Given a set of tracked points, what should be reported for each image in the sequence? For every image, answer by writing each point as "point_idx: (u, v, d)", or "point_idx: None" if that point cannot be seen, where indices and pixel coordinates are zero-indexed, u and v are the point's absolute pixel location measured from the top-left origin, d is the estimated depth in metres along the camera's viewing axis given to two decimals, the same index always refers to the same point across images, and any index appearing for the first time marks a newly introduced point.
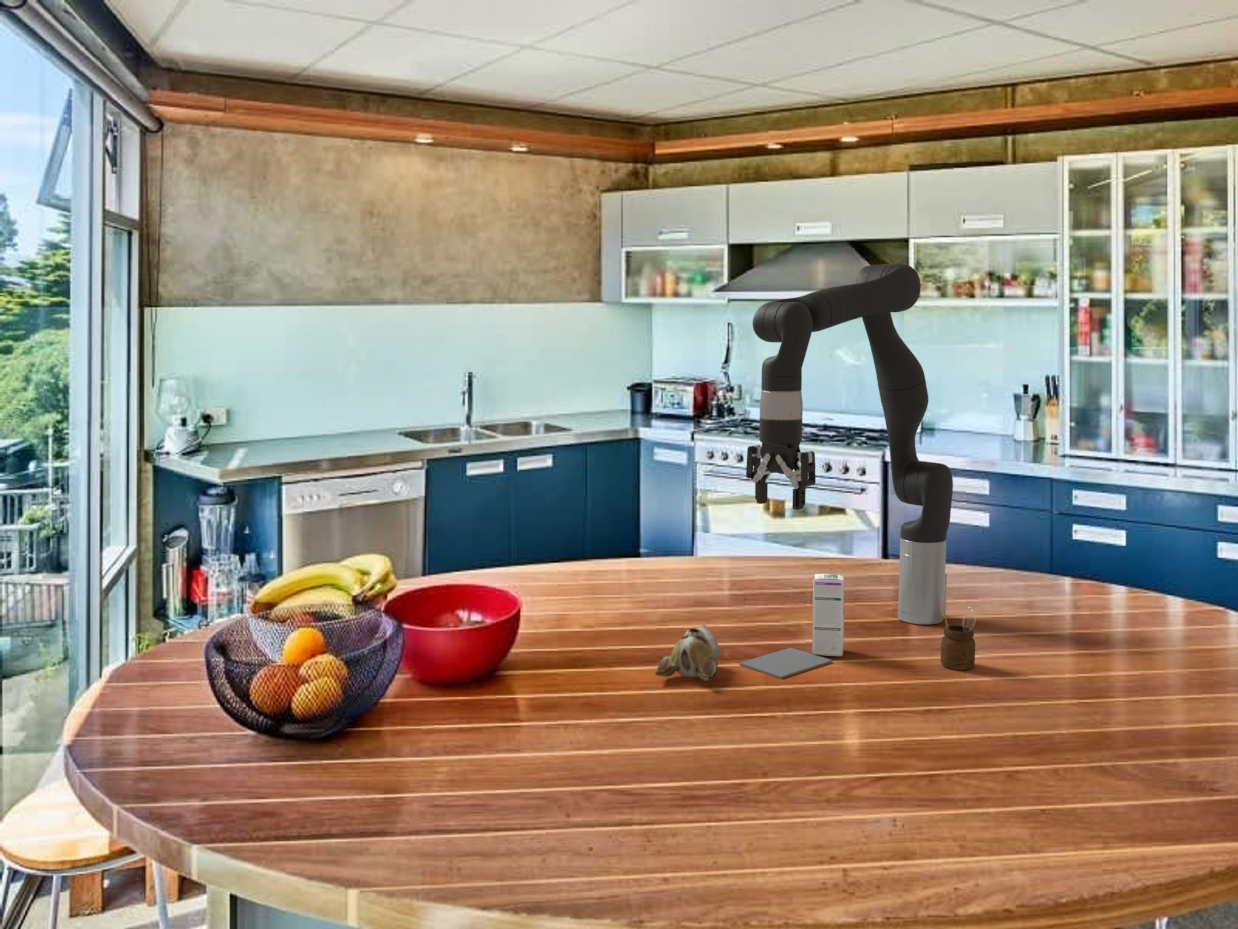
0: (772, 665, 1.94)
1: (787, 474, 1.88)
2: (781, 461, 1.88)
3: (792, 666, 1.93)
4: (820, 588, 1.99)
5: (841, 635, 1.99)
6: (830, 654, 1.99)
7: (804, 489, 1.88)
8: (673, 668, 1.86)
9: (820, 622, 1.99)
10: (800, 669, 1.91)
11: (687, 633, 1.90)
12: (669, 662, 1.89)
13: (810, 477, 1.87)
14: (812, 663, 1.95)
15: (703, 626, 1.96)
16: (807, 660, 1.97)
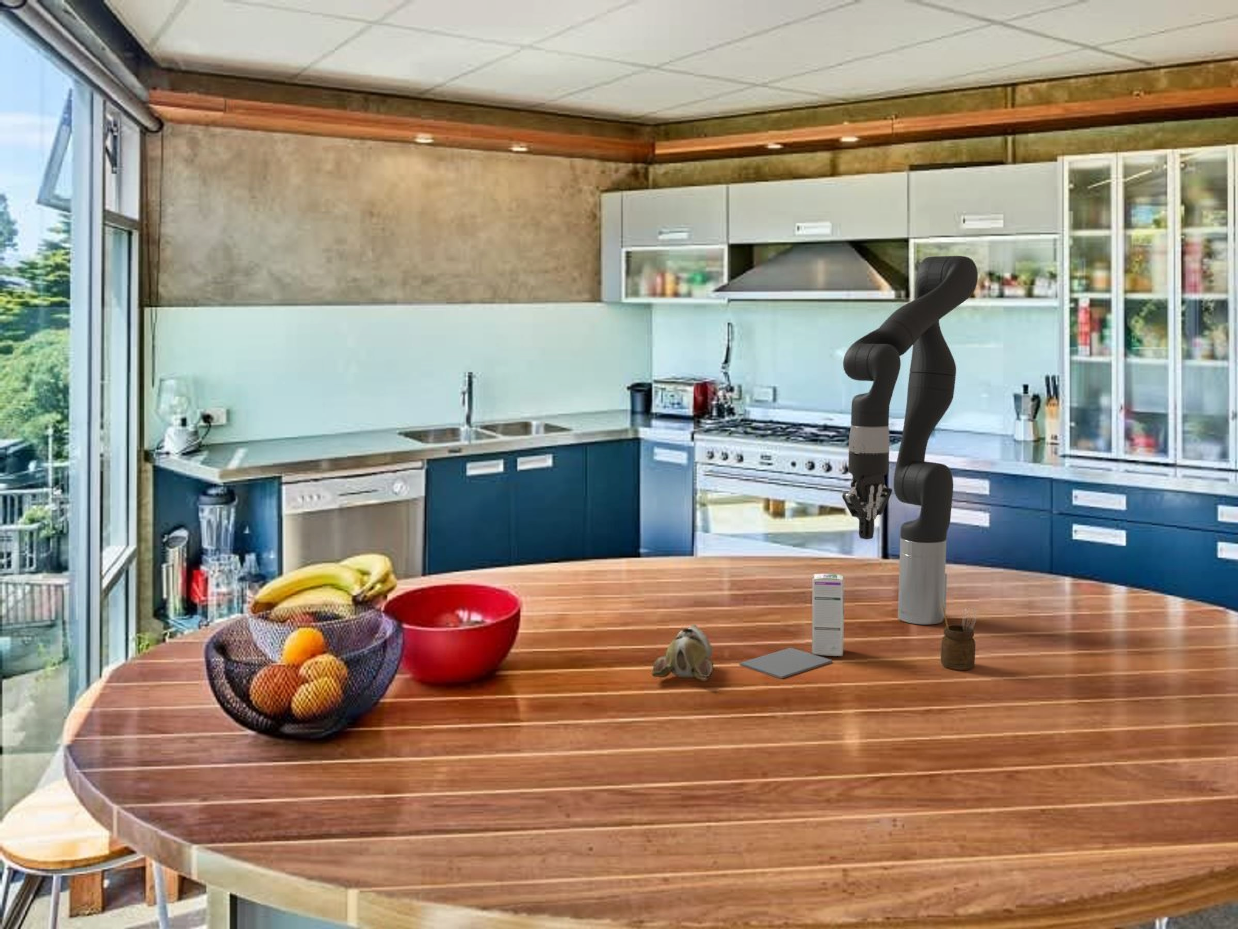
0: (772, 665, 1.94)
1: (877, 504, 2.05)
2: (880, 491, 2.05)
3: (792, 666, 1.93)
4: (819, 588, 1.99)
5: (841, 635, 1.99)
6: (830, 654, 1.99)
7: None
8: (669, 668, 1.86)
9: (820, 622, 1.99)
10: (800, 669, 1.91)
11: (681, 633, 1.90)
12: (664, 663, 1.88)
13: None
14: (812, 663, 1.95)
15: (694, 626, 1.96)
16: (807, 660, 1.97)
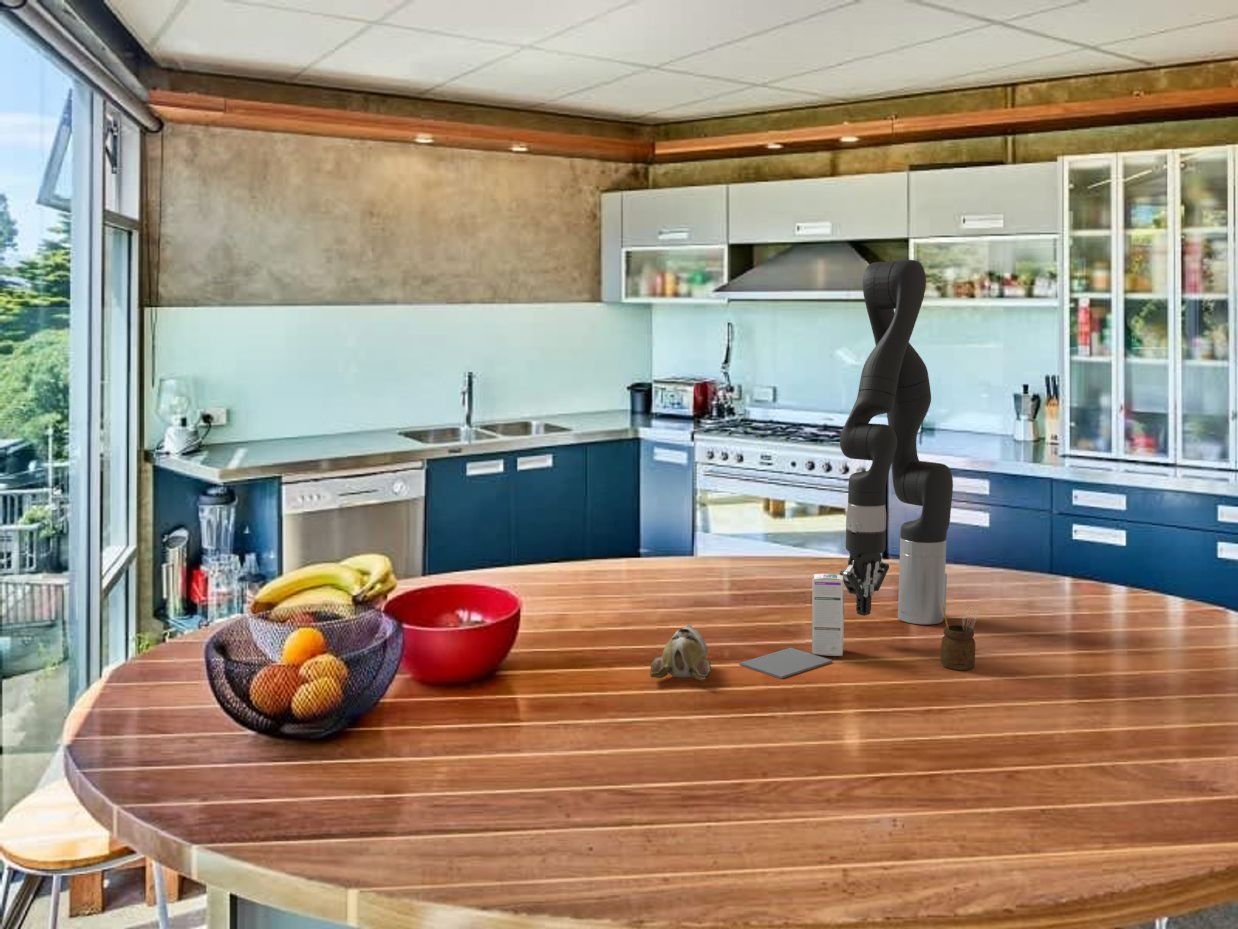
0: (772, 665, 1.94)
1: (874, 581, 2.07)
2: (877, 568, 2.07)
3: (792, 666, 1.93)
4: (819, 588, 1.99)
5: (841, 635, 1.99)
6: (830, 654, 1.99)
7: None
8: (667, 669, 1.86)
9: (820, 622, 1.99)
10: (800, 669, 1.91)
11: (677, 633, 1.90)
12: (661, 663, 1.88)
13: None
14: (812, 663, 1.95)
15: (689, 626, 1.96)
16: (807, 660, 1.97)
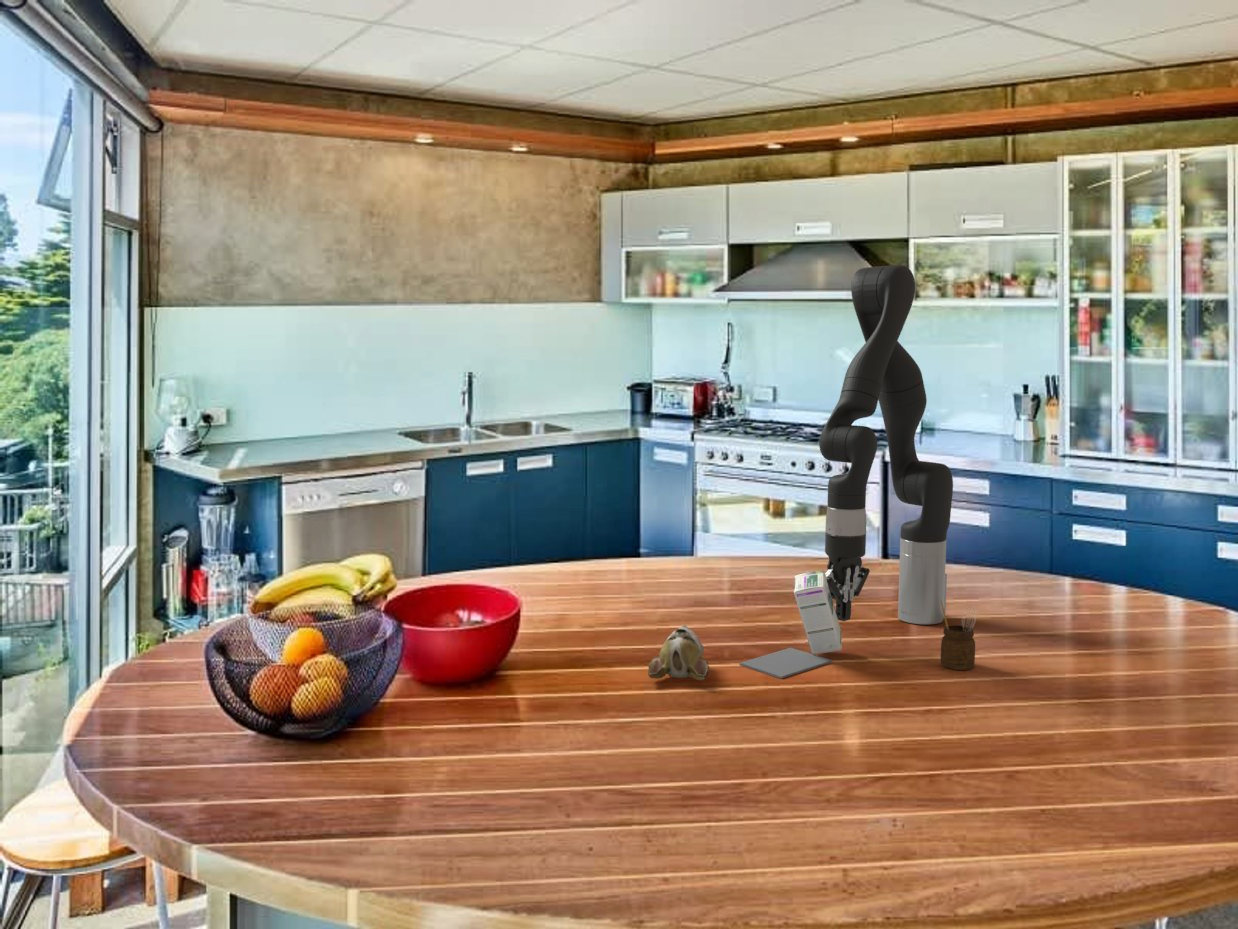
0: (772, 665, 1.94)
1: (854, 586, 2.03)
2: (857, 573, 2.03)
3: (792, 666, 1.93)
4: (803, 598, 1.95)
5: (835, 633, 1.97)
6: (829, 651, 1.99)
7: None
8: (665, 669, 1.86)
9: (811, 627, 1.97)
10: (800, 669, 1.91)
11: (674, 634, 1.90)
12: (659, 664, 1.88)
13: None
14: (812, 663, 1.95)
15: (684, 626, 1.96)
16: (807, 660, 1.97)
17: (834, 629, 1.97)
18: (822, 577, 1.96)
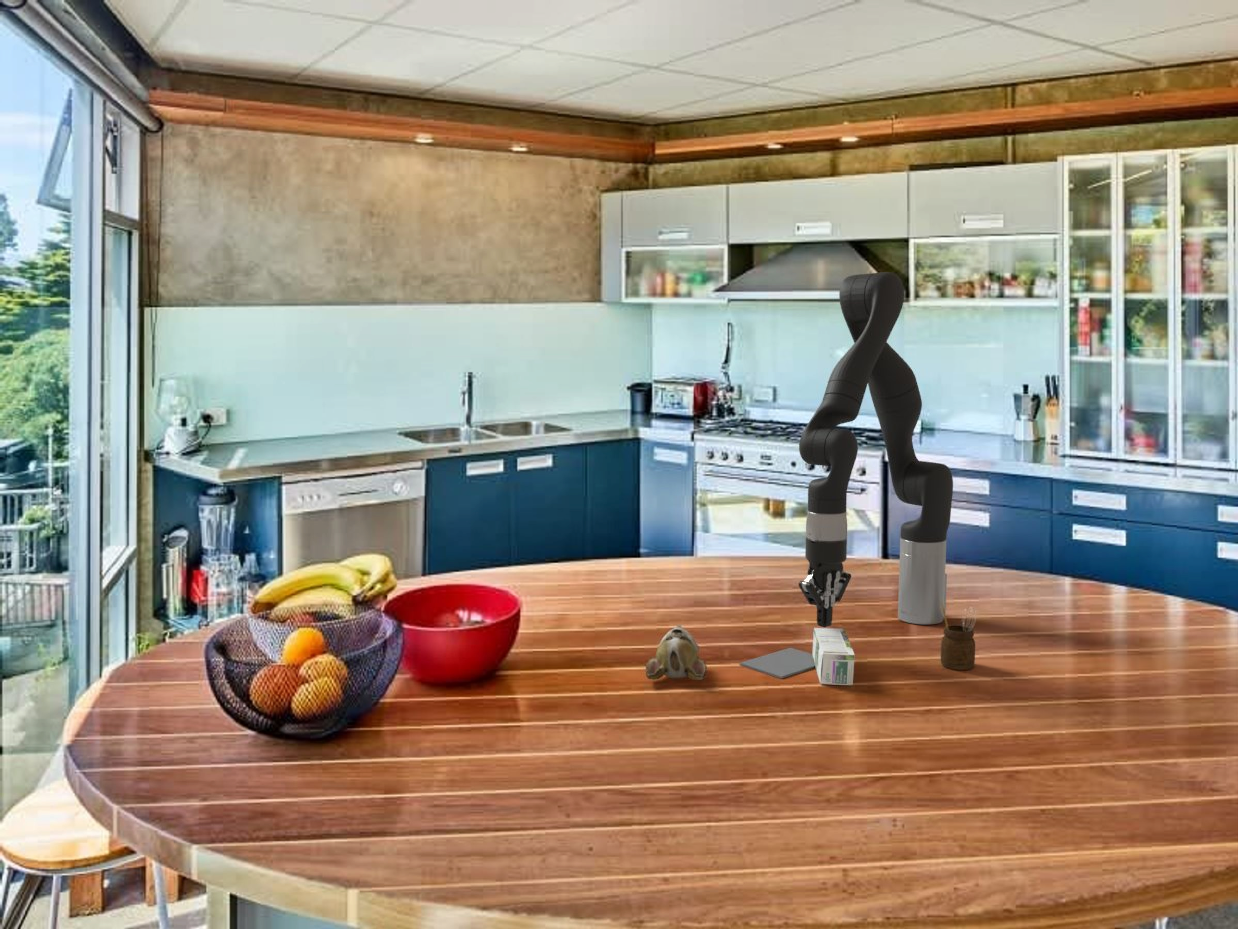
0: (772, 665, 1.94)
1: (835, 591, 1.99)
2: (838, 578, 1.99)
3: (792, 666, 1.93)
4: None
5: None
6: None
7: None
8: (662, 670, 1.85)
9: None
10: (800, 669, 1.91)
11: (670, 634, 1.90)
12: (656, 664, 1.87)
13: None
14: (812, 663, 1.95)
15: (679, 626, 1.96)
16: (807, 660, 1.97)
17: None
18: (852, 668, 1.84)
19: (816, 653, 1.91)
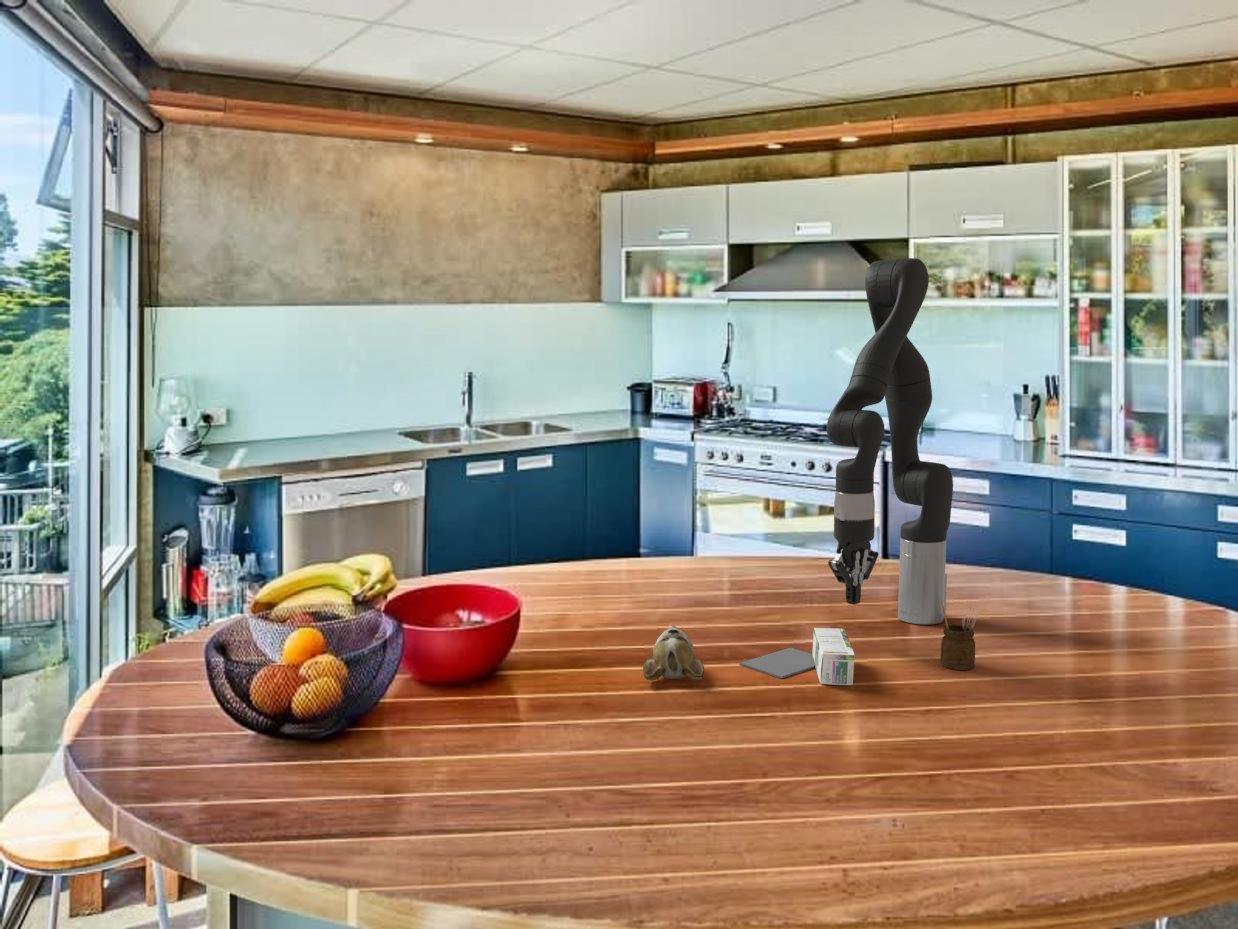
0: (772, 665, 1.94)
1: (863, 569, 2.04)
2: (867, 556, 2.04)
3: (792, 666, 1.93)
4: None
5: None
6: None
7: None
8: (660, 671, 1.85)
9: None
10: (800, 669, 1.91)
11: (667, 634, 1.89)
12: (653, 665, 1.87)
13: None
14: (812, 663, 1.95)
15: (673, 626, 1.96)
16: (807, 660, 1.97)
17: None
18: (852, 668, 1.84)
19: (816, 653, 1.91)
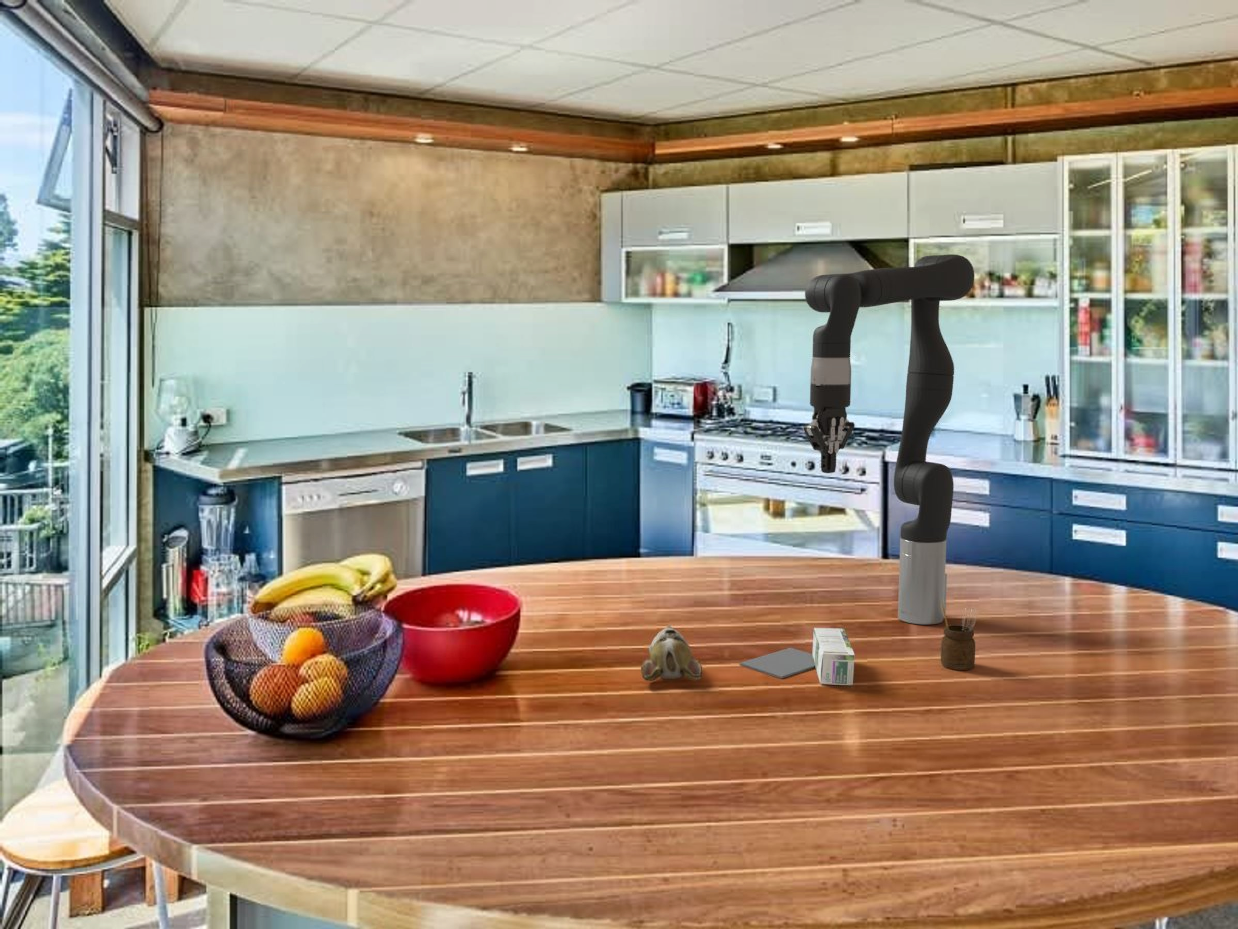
0: (772, 665, 1.94)
1: (839, 437, 2.03)
2: (842, 424, 2.03)
3: (792, 666, 1.93)
4: None
5: None
6: None
7: None
8: (659, 671, 1.85)
9: None
10: (800, 669, 1.91)
11: (664, 635, 1.89)
12: (651, 666, 1.87)
13: None
14: (812, 663, 1.95)
15: (669, 626, 1.95)
16: (807, 660, 1.97)
17: None
18: (852, 668, 1.84)
19: (816, 653, 1.91)
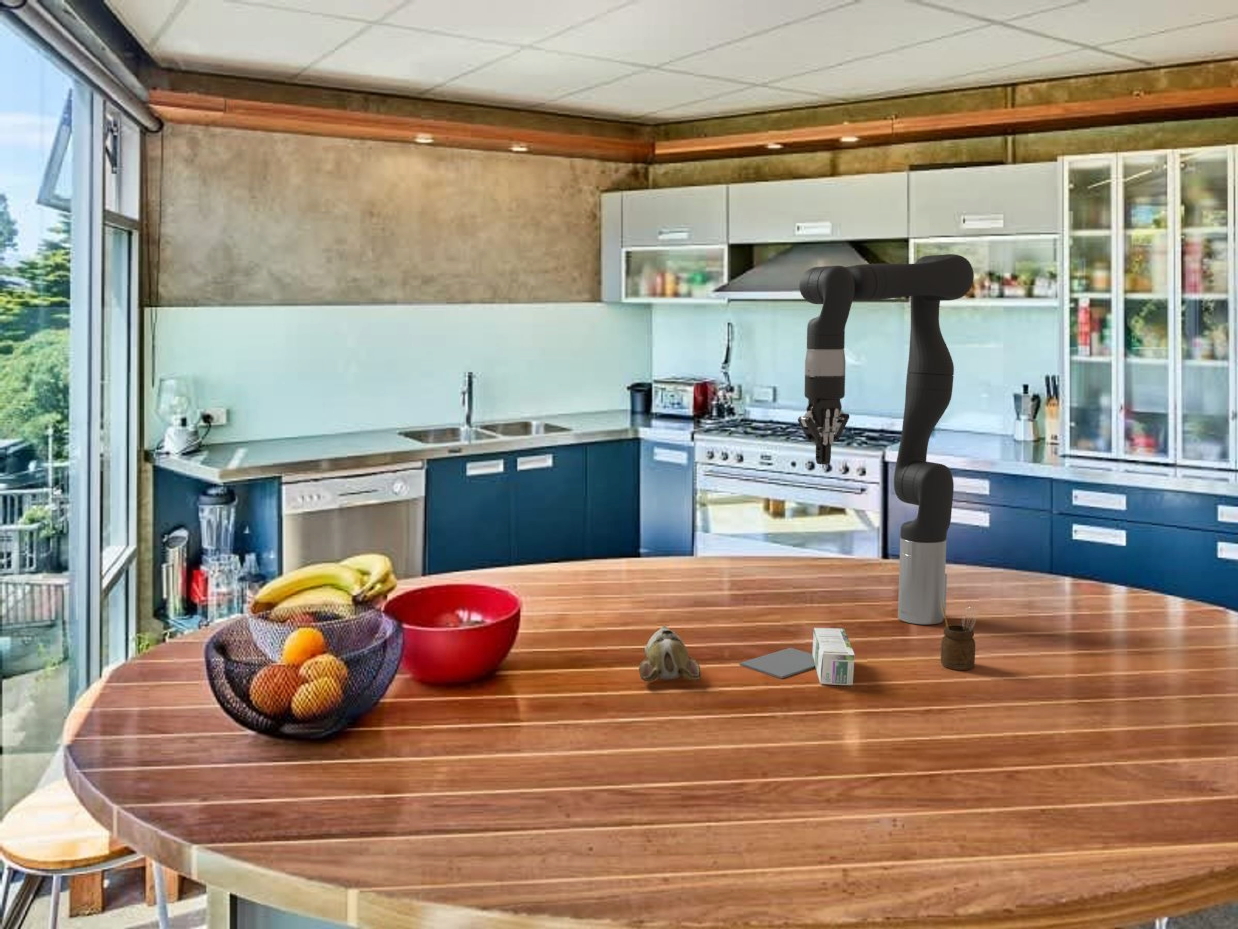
0: (772, 665, 1.94)
1: (833, 429, 2.04)
2: (837, 416, 2.03)
3: (792, 666, 1.93)
4: None
5: None
6: None
7: None
8: (657, 672, 1.84)
9: None
10: (800, 669, 1.91)
11: (661, 635, 1.89)
12: (649, 666, 1.86)
13: None
14: (812, 663, 1.95)
15: (664, 627, 1.95)
16: (807, 660, 1.97)
17: None
18: (852, 668, 1.84)
19: (816, 653, 1.91)
